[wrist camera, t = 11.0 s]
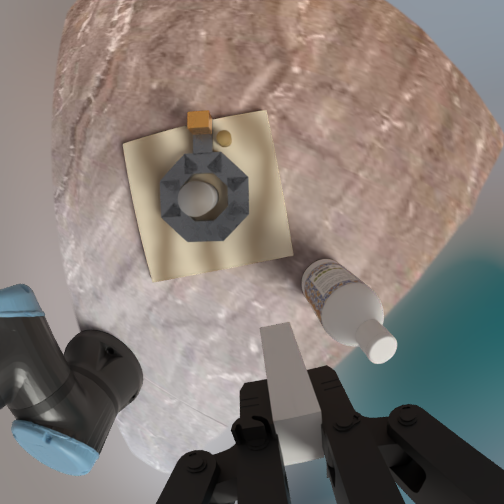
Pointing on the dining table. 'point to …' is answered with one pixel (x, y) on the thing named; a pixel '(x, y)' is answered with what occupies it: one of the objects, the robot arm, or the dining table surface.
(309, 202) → the dining table surface
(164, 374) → the dining table surface
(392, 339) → the bath foam
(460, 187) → the dining table surface
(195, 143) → the flange
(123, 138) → the dining table surface
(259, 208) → the post base
